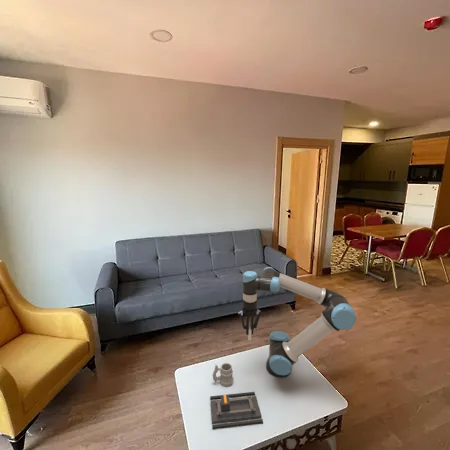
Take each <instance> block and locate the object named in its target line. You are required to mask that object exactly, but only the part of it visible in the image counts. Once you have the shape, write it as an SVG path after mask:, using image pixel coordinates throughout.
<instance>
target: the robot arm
mask: <svg viewBox="0 0 450 450" xmlns="http://www.w3.org/2000/svg"><path fill="white" fill-rule="evenodd" d="M261 274H262V275H261V276H259V275H258V274H257V272H256V271H252V270H248V271H245V272H244V273H243V274H242V308H241V310H240V311H238V312H237V314H238V316H239V317H240V321H241V326H242V328H243V330H245V334H246V336H247V341H248V342H251V341H252V335H254V331H255V329H257V328H258V324H259V319H260V317H261V315H262V311H261V309H258V306H257V305H258V304H257V303H258V300H257V298H258V291H259V292H260V291H262V292H279V291H280V288H281V289H285V290H287V291H290V292H292V293H294V294H297V295H300V296H303V297H305V298H307V299H310V300H312V301H315V302H317V304H318V305H320V306H323V307H324V308H325V309H323V310H322V311H321V314H320V317H319V318H317V319H316V320H315V321H313V322H312V323H311V324H309V325H308V326H307V327H305V328H304V329H303V330H302V331H301V332H299V333H298V334H297V335H295V336H294V337H293V338H291V339H290V335H289V334H288V333H287V332H285V331H281V330H274V331H272V332H270V334H269V342H268V343H269V344H268V345H269V347H268V348H269V349H268V350H269V351H268V357H267V360H266V363H265V369H266V371H267V373H269V374H270V375H271V376H273V377H275V378H285V377H288V376H290V374H291V373H292V369H293V366H294V365H295V364H297V363H298V361H299V357H300V356H301V355H303V354H305V352H307V351H308V350H309V349H311V348H312V347H314V346H315V345H316V344H317V343H319V342H320V341H322V340H323V339H324V338H325V337H327V336H328V335H329V334H331V333H332V332H337V333H338V332H339V331H347V330H350V329H352V328H353V326H354V325H355V324H356V321H357V315H356V312H355V310H354V308H353V307H352V305H351V304H350V302H349V301H348V299H347V298H346V297H345V296H344V295H342V294H341V293H338V292H337V291H334V290H331V289H329V288H326V287H322V288H320V287H318V286H315V285H313V284H310V283H308V282H305V281H302V280H299V279H297V278H294V277H291V276H289V275H286V274H284V273H281V272H279V271H276V270H275V269H274V268H273V267H271V266H267V267H265V268H264V269H263V270H262V272H261ZM243 314H244V316H245V319H244V317H243ZM254 317H255V318H254ZM249 326H250V327H249Z"/></svg>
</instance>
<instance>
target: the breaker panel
mask: <svg viewBox="0 0 450 450" xmlns="http://www.w3.org/2000/svg"><path fill="white" fill-rule="evenodd" d="M229 402H230V411H225V412H222V411H221V399H217V400H210V412H211V414H210V416H211V424H212V425H216V424H225V423H233V422H242V421H250V420H259V419H263V417H262V413H261V409H260V406H259V402H258V399H257V395H254V396H245V397H236V398H229Z"/></svg>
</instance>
